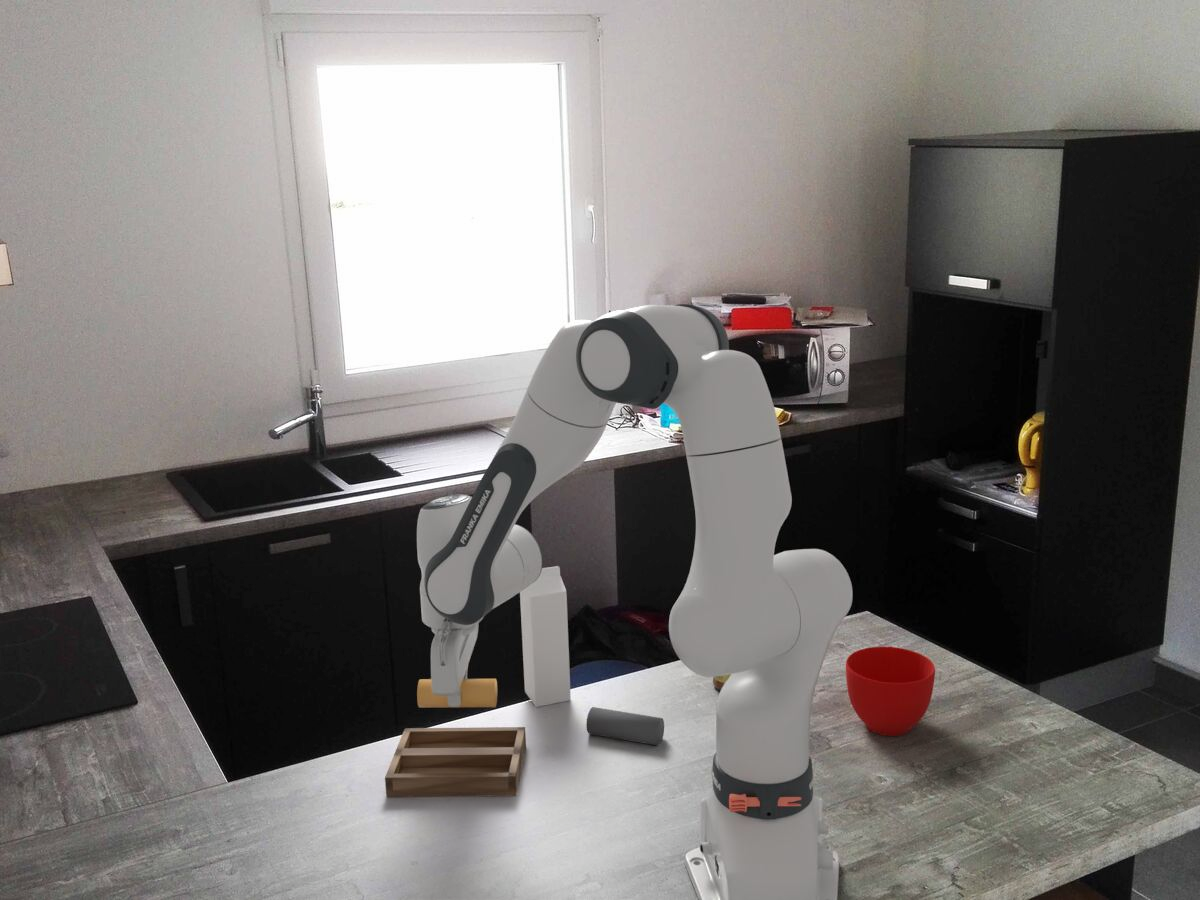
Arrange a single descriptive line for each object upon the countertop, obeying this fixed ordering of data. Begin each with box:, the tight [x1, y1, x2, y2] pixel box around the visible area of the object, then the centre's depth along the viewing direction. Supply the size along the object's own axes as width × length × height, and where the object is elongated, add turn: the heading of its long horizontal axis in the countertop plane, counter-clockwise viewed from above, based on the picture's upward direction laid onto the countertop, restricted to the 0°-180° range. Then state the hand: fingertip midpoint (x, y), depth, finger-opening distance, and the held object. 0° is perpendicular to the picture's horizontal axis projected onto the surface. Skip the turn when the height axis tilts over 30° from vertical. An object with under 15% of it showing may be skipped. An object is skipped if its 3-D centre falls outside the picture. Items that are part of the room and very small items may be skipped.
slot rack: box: [384, 726, 527, 798], centre depth 167 cm, size 14×18×3 cm
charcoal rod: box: [585, 706, 665, 746], centre depth 175 cm, size 11×4×4 cm
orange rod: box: [416, 678, 498, 708], centre depth 168 cm, size 11×4×4 cm, turn 88°
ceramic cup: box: [845, 645, 936, 737], centre depth 177 cm, size 13×17×10 cm
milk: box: [519, 565, 572, 708], centre depth 186 cm, size 6×6×22 cm
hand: (458, 695), depth 168 cm, fingers closed on orange rod, 4 cm apart
